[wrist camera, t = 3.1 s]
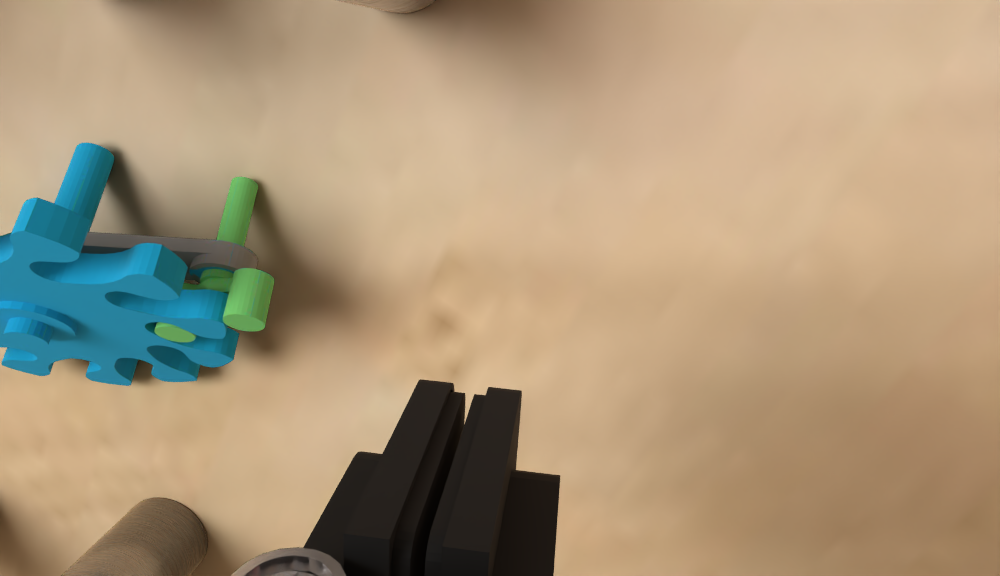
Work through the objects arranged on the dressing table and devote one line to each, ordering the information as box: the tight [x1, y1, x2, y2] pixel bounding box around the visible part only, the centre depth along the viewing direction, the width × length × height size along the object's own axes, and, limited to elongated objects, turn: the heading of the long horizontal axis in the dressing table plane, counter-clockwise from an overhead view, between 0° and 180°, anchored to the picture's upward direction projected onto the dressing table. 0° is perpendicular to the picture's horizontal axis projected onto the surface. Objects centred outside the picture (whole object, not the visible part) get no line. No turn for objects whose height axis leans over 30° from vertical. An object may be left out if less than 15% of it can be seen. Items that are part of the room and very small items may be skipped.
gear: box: [0, 143, 275, 386], centre depth 20 cm, size 11×6×10 cm
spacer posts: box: [61, 0, 436, 576], centre depth 19 cm, size 22×19×8 cm
